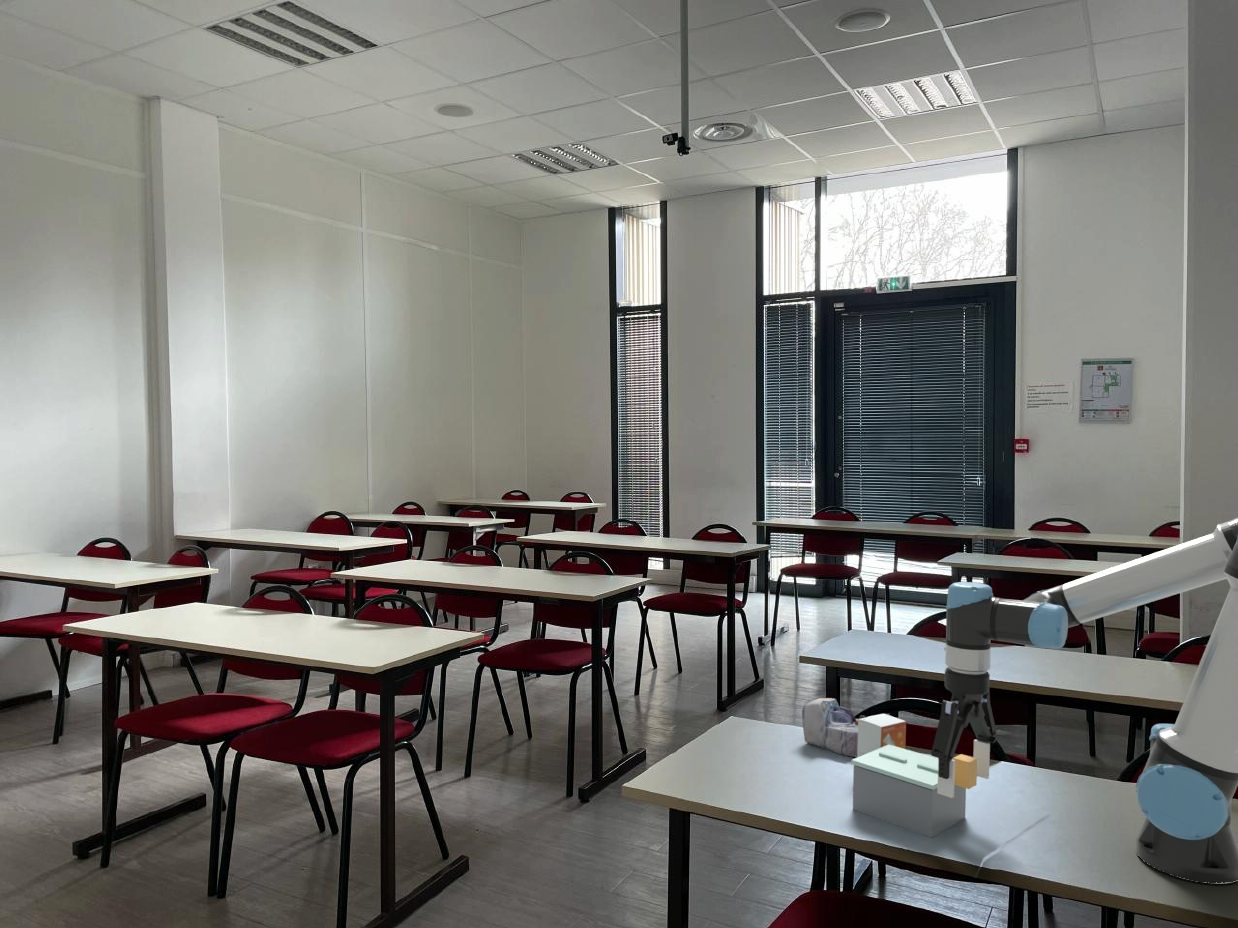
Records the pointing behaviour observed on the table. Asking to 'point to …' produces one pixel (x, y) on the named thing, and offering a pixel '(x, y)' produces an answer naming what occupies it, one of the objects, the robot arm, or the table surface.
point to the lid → (917, 766)
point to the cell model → (830, 726)
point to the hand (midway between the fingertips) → (963, 785)
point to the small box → (880, 733)
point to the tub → (906, 802)
